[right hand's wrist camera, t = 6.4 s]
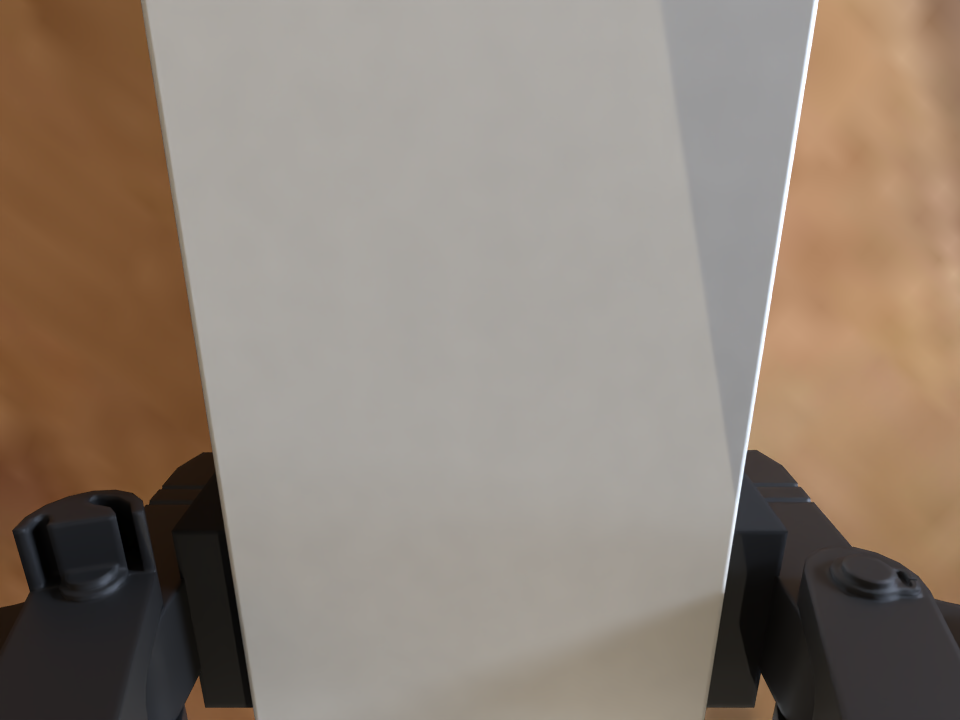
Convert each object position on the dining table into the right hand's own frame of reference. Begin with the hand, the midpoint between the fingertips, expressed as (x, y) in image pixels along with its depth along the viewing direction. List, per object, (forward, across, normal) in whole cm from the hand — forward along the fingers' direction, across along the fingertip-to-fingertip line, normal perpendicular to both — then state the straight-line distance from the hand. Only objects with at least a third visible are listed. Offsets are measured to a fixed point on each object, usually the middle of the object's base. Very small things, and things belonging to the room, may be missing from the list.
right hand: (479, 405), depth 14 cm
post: (+1, 0, -29) cm, 29 cm away
